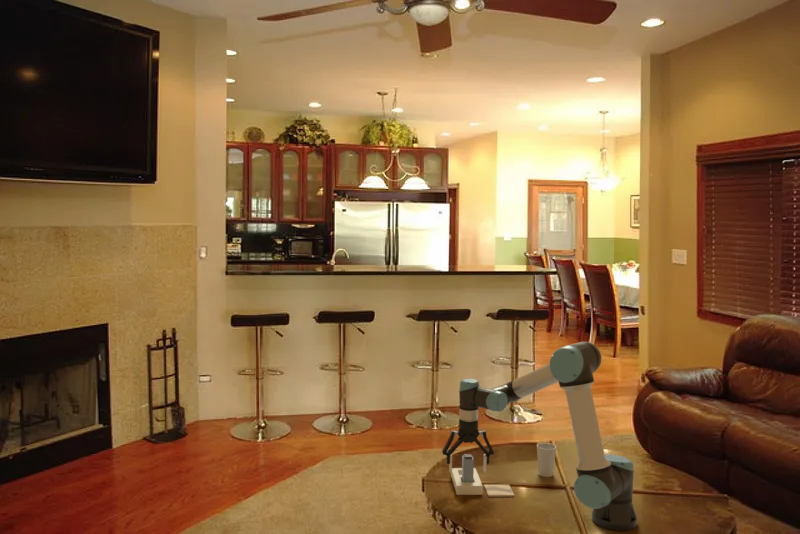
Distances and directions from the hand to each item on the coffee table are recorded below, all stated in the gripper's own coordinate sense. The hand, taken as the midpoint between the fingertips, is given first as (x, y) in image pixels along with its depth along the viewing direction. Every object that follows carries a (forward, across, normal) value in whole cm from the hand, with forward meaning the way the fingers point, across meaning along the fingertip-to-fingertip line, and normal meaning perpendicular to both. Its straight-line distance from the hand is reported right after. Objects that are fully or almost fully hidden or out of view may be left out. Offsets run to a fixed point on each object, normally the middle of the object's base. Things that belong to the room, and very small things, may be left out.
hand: (467, 471), depth 257 cm
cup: (+7, -35, -14) cm, 38 cm away
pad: (+7, -12, +3) cm, 14 cm away
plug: (+7, 0, 0) cm, 7 cm away
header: (+7, 0, -3) cm, 7 cm away
